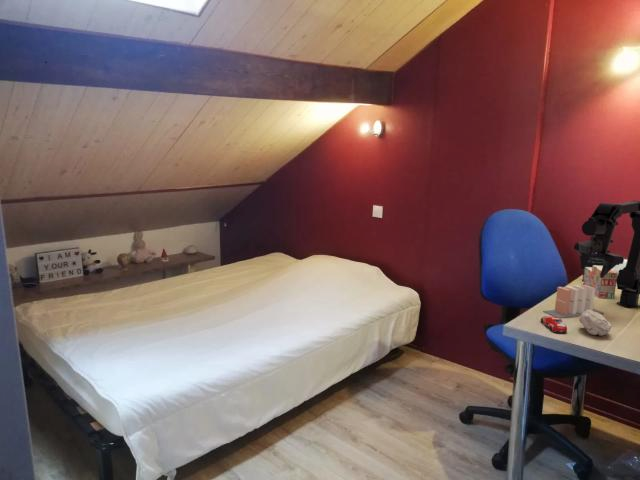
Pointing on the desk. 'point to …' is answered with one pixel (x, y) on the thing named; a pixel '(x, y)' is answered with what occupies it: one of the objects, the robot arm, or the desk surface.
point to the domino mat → (558, 315)
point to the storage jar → (594, 261)
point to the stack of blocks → (601, 281)
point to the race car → (554, 324)
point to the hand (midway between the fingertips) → (591, 273)
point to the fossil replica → (594, 323)
